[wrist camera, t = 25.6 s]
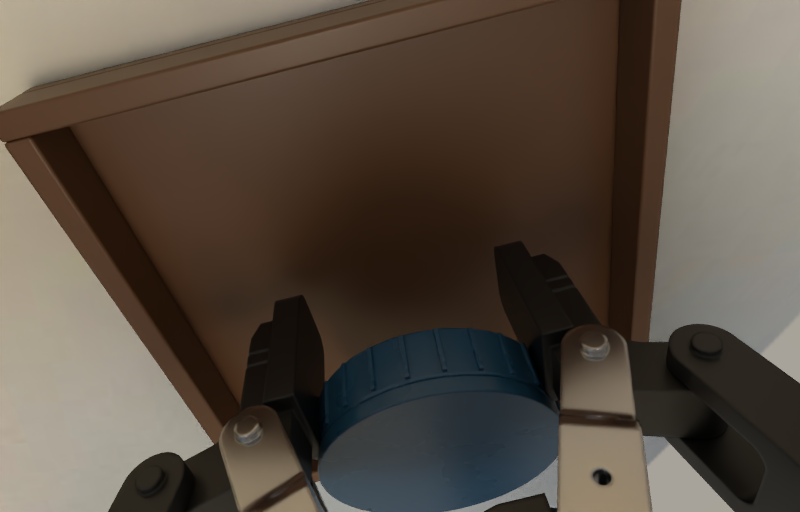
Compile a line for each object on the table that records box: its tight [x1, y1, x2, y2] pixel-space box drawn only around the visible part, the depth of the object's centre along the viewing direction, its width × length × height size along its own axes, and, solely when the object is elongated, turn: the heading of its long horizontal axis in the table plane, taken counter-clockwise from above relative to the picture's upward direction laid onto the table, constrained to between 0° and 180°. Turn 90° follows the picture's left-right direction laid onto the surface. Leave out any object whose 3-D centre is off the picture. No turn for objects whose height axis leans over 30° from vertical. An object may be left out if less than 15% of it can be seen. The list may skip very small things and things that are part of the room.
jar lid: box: [315, 328, 560, 512], centre depth 13 cm, size 6×6×2 cm
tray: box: [0, 0, 681, 482], centre depth 15 cm, size 14×14×2 cm
